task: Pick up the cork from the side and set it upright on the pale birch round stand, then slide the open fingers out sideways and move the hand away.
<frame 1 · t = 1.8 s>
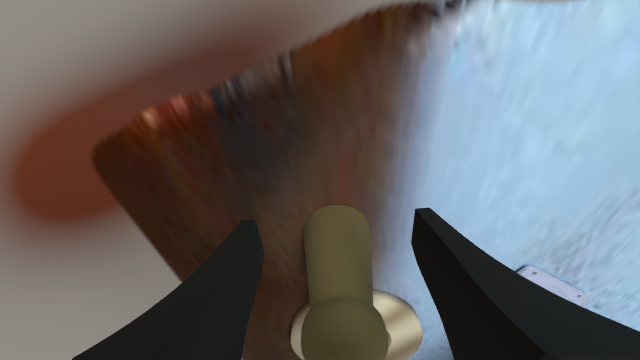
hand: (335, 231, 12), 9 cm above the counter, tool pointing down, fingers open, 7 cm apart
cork: (336, 230, 24), on the counter
birch stand: (354, 329, 32), on the counter
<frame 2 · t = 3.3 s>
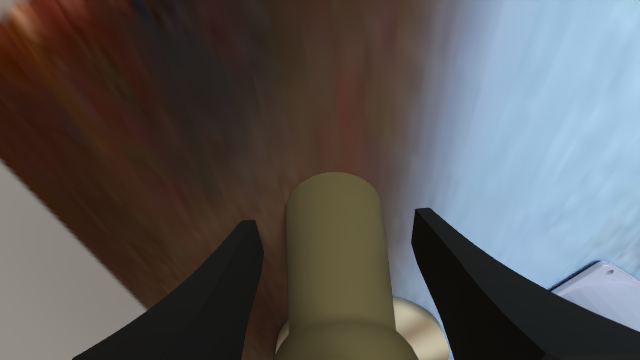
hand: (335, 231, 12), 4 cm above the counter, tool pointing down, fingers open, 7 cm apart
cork: (333, 211, 17), on the counter
birch stand: (358, 345, 24), on the counter
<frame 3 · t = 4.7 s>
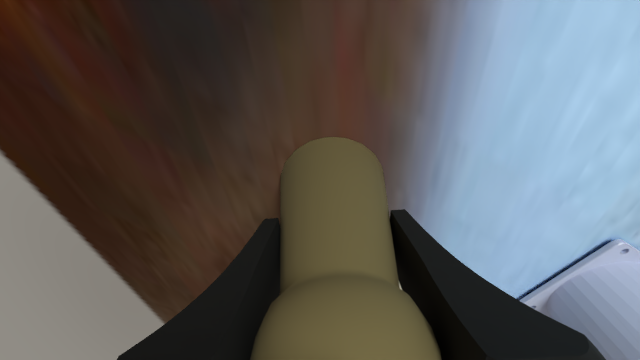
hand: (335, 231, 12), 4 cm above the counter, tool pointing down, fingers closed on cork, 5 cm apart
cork: (331, 183, 16), on the counter, touching gripper
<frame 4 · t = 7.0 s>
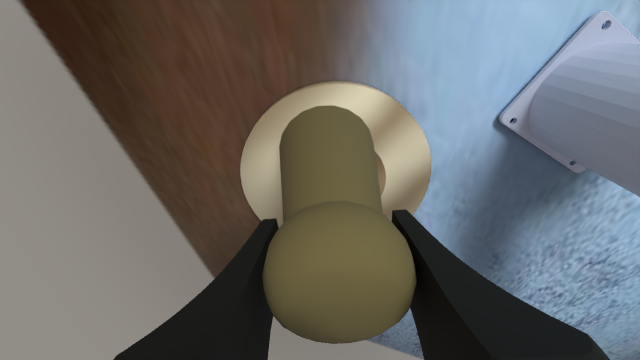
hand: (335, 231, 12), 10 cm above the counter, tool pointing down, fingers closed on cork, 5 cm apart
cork: (326, 150, 17), point 4 cm above the counter, touching gripper
birch stand: (334, 173, 22), on the counter
when the fingers open (7 cm above the counter, at t = 9.2 s): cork stays where it is, resting on birch stand.
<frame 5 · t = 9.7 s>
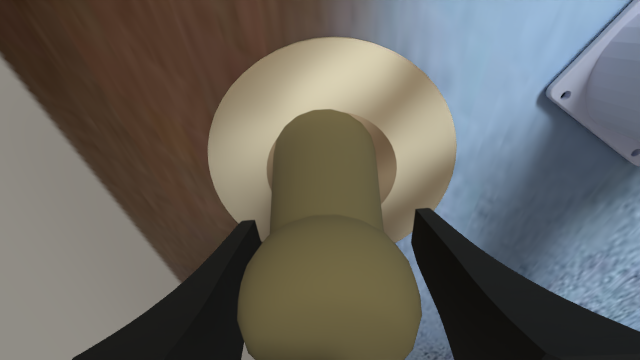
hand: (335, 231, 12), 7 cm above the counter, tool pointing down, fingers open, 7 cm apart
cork: (324, 157, 16), point 1 cm above the counter, touching birch stand
birch stand: (330, 163, 18), on the counter
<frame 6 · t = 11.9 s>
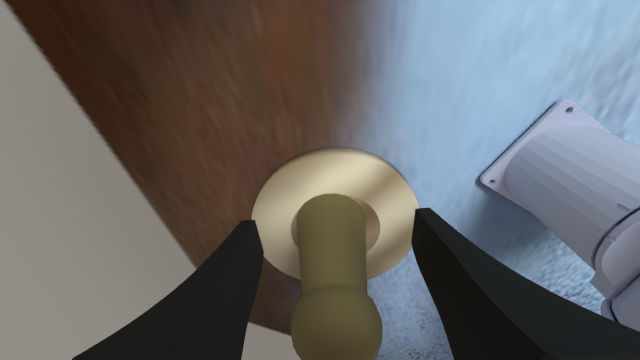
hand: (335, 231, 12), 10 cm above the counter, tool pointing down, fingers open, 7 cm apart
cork: (330, 220, 23), point 1 cm above the counter, touching birch stand
birch stand: (334, 220, 25), on the counter
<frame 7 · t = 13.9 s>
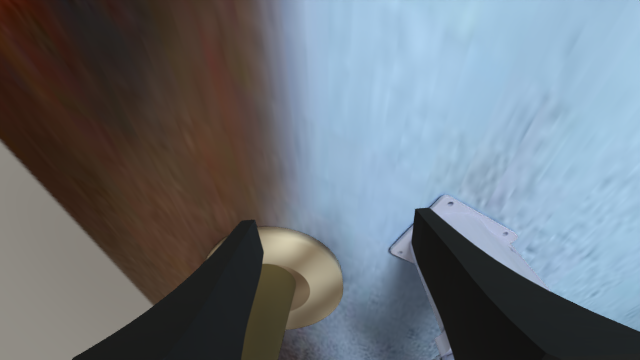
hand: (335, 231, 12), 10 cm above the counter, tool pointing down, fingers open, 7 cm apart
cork: (267, 282, 28), point 1 cm above the counter, touching birch stand
birch stand: (274, 278, 29), on the counter
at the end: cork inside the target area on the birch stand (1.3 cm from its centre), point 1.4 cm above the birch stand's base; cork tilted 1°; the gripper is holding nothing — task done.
